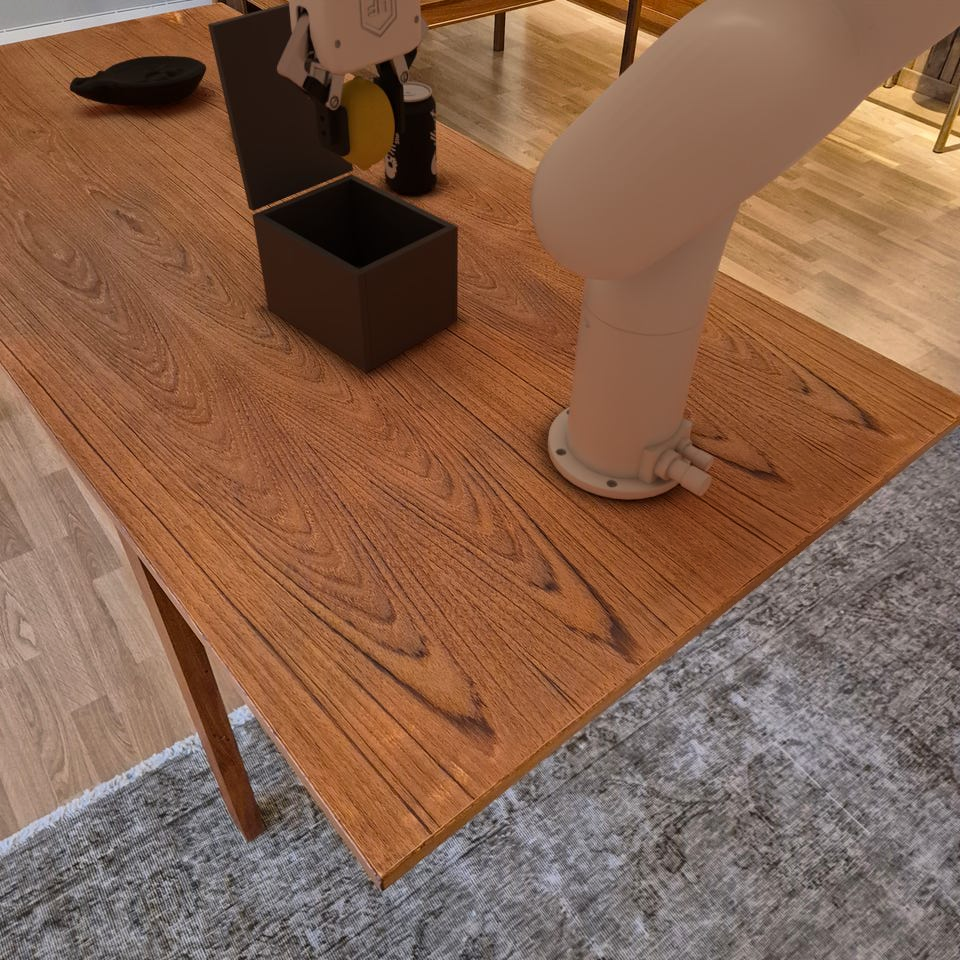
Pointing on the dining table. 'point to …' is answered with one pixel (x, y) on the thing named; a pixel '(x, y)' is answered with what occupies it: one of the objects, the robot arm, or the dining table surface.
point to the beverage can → (414, 144)
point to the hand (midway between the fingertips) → (363, 137)
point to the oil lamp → (143, 81)
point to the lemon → (367, 122)
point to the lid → (269, 109)
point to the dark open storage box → (359, 269)
